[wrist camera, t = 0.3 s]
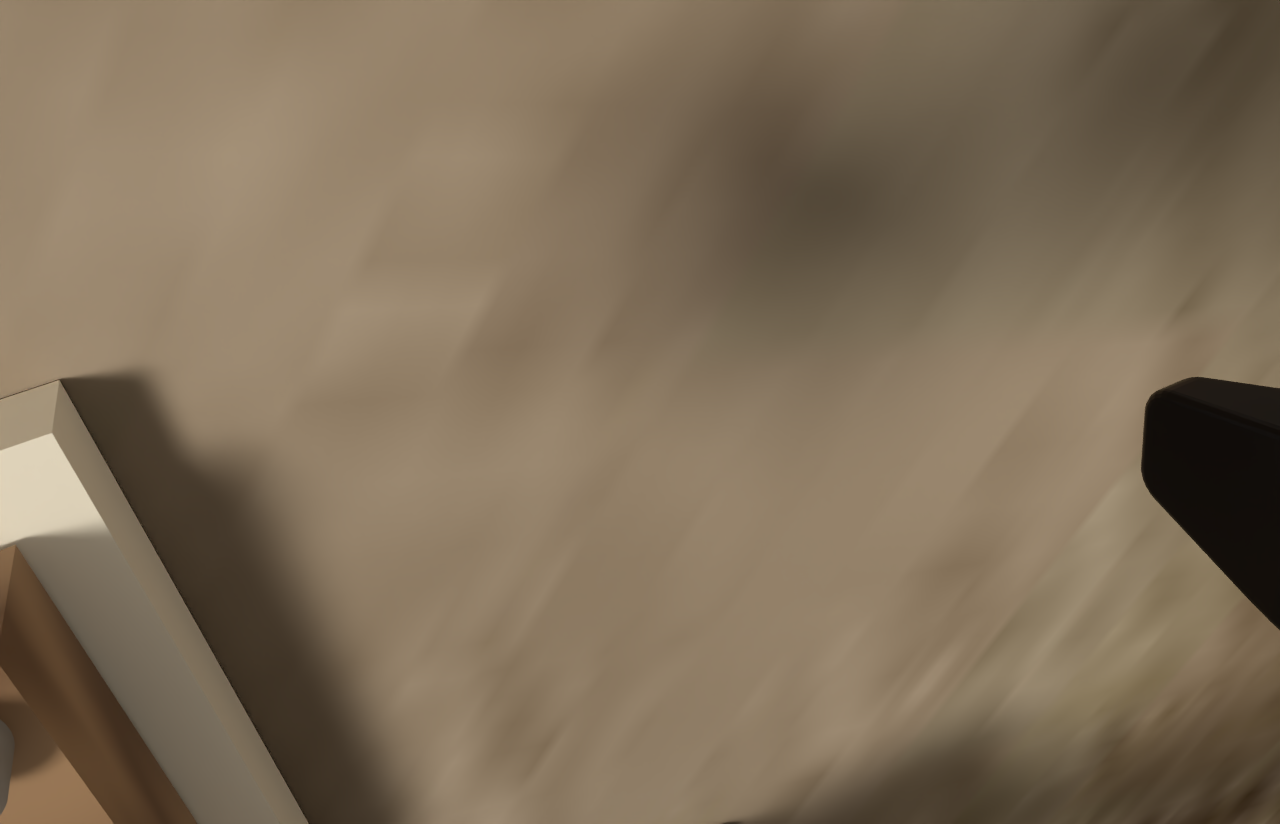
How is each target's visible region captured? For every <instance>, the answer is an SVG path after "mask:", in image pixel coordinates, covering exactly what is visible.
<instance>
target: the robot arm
mask: <svg viewBox="0 0 1280 824" xmlns="http://www.w3.org/2000/svg"><path fill="white" fill-rule="evenodd" d="M1141 472H1142V477H1143V480H1144V483H1145V485H1146V487H1147V489H1148V490H1149V492H1150V494H1151V495H1152V496H1153V497H1154V499H1155V500H1156V501H1157V502H1158V503H1159V504H1160V505H1161V506H1162V507H1163V508H1164V509H1165V510H1166V511H1167V513H1168V514H1169V515H1170V516H1171V517H1172V518H1173V519H1174V520H1175V521H1176V522H1177V523H1178V524H1179V525H1180V526H1181V527H1182V529H1183V530H1184V531H1185V532H1186V533H1187V534H1188V535H1189V536H1190V537H1191V538H1192V539H1193V540H1194V541H1195V542H1196V544H1197V545H1198V546H1199V547H1200V548H1201V549H1202V550H1203V551H1204V552H1205V553H1206V554H1207V555H1208V556H1209V557H1210V558H1211V560H1212V561H1213V562H1214V563H1215V564H1216V565H1217V566H1218V567H1219V568H1220V569H1221V570H1222V571H1223V572H1224V573H1225V575H1226V576H1227V577H1228V578H1229V579H1230V580H1231V581H1232V582H1233V583H1234V584H1235V585H1236V586H1237V587H1238V588H1239V589H1240V591H1241V592H1242V593H1243V594H1244V595H1245V596H1246V597H1247V598H1248V599H1249V600H1250V601H1251V602H1252V603H1253V604H1254V605H1255V606H1256V607H1257V608H1258V609H1259V610H1260V611H1261V612H1262V613H1263V614H1264V615H1265V616H1266V617H1267V618H1268V620H1269V621H1270V622H1272V623H1273V624H1274V625H1275V626H1276V627H1277V628H1278V629H1279V630H1280V388H1273V387H1266V386H1259V385H1252V384H1245V383H1238V382H1231V381H1224V380H1218V379H1211V378H1204V377H1191V378H1187V379H1184V380H1181V381H1179V382H1176V383H1174V384H1172V385H1169V386H1167V387H1165V388H1162V389H1160V390H1158V391H1156V392H1155V393H1153V394H1152V395H1151V396H1150V398H1149V400H1148V401H1147V403H1146V407H1145V417H1144V431H1143V445H1142V460H1141Z"/></svg>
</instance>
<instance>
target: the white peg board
mask: <svg viewBox="0 0 1280 824" xmlns="http://www.w3.org/2000/svg"><path fill="white" fill-rule="evenodd" d="M14 545H16V546H17V547H18V549H19V550H20V552H21V553H22V555H23V557H24V558H25V560H26V561H27V563H28V564H29V566H30V567H31V569H32V570H33V572H34V573H35V575H36V577H37V578H38V580H39V581H40V583H41V584H42V586H43V587H44V589H45V590H46V592H47V593H48V595H49V596H50V598H51V600H52V601H53V603H54V604H55V606H56V607H57V609H58V610H59V612H60V613H61V615H62V616H63V618H64V619H65V621H66V623H67V624H68V626H69V627H70V629H71V630H72V632H73V633H74V635H75V636H76V638H77V639H78V641H79V642H80V644H81V646H82V647H83V649H84V650H85V652H86V653H87V655H88V656H89V658H90V659H91V661H92V662H93V664H94V665H95V667H96V669H97V670H98V672H99V673H100V675H101V676H102V678H103V679H104V681H105V682H106V684H107V685H108V687H109V688H110V690H111V692H112V693H113V695H114V696H115V698H116V699H117V701H118V702H119V704H120V705H121V707H122V708H123V710H124V711H125V713H126V715H127V716H128V718H129V719H130V721H131V722H132V724H133V725H134V727H135V728H136V730H137V731H138V733H139V734H140V736H141V738H142V739H143V741H144V742H145V744H146V745H147V747H148V748H149V750H150V751H151V753H152V754H153V756H154V757H155V759H156V761H157V762H158V764H159V765H160V767H161V768H162V770H163V771H164V773H165V774H166V776H167V777H168V779H169V781H170V782H171V784H172V785H173V787H174V788H175V790H176V791H177V793H178V794H179V796H180V797H181V799H182V800H183V802H184V804H185V805H186V807H187V808H188V810H189V811H190V813H191V814H192V816H193V817H194V819H195V820H196V822H197V823H198V824H309V823H308V822H307V820H306V818H305V816H304V814H303V813H302V811H301V809H300V807H299V806H298V804H297V802H296V800H295V798H294V797H293V795H292V793H291V791H290V790H289V788H288V786H287V784H286V782H285V781H284V779H283V777H282V775H281V774H280V772H279V770H278V768H277V766H276V765H275V763H274V761H273V759H272V758H271V756H270V754H269V752H268V750H267V749H266V747H265V745H264V743H263V741H262V740H261V738H260V736H259V734H258V733H257V731H256V729H255V727H254V725H253V724H252V722H251V720H250V718H249V717H248V715H247V713H246V711H245V709H244V708H243V706H242V704H241V702H240V701H239V699H238V697H237V695H236V693H235V692H234V690H233V688H232V686H231V685H230V683H229V681H228V679H227V677H226V676H225V674H224V672H223V670H222V669H221V667H220V665H219V663H218V661H217V660H216V658H215V656H214V654H213V652H212V651H211V649H210V647H209V645H208V644H207V642H206V640H205V638H204V636H203V635H202V633H201V631H200V629H199V628H198V626H197V624H196V622H195V620H194V619H193V617H192V615H191V613H190V612H189V610H188V608H187V606H186V604H185V603H184V601H183V599H182V597H181V596H180V594H179V592H178V590H177V588H176V587H175V585H174V583H173V581H172V580H171V578H170V576H169V574H168V572H167V571H166V569H165V567H164V565H163V564H162V562H161V560H160V558H159V556H158V555H157V553H156V551H155V549H154V547H153V546H152V544H151V542H150V540H149V539H148V537H147V535H146V533H145V531H144V530H143V528H142V526H141V524H140V523H139V521H138V519H137V517H136V515H135V514H134V512H133V510H132V508H131V507H130V505H129V503H128V501H127V499H126V498H125V496H124V494H123V492H122V491H121V489H120V487H119V485H118V483H117V482H116V480H115V478H114V476H113V475H112V473H111V471H110V469H109V467H108V466H107V464H106V462H105V460H104V458H103V457H102V455H101V453H100V451H99V450H98V448H97V446H96V444H95V442H94V441H93V439H92V437H91V435H90V434H89V432H88V430H87V428H86V426H85V425H84V423H83V421H82V419H81V418H80V416H79V414H78V412H77V410H76V409H75V407H74V405H73V403H72V402H71V400H70V398H69V396H68V394H67V393H66V391H65V389H64V387H63V386H62V384H61V382H60V380H58V381H55V382H52V383H49V384H46V385H43V386H40V387H36V388H33V389H30V390H27V391H24V392H21V393H18V394H15V395H12V396H9V397H6V398H3V399H0V550H3V549H5V548H8V547H11V546H14Z"/></svg>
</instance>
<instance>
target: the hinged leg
mask: <svg viewBox="0 0 1280 824" xmlns="http://www.w3.org/2000/svg"><path fill="white" fill-rule="evenodd" d="M0 824H198V823H197V822H196V820H195V819H194V817H193V816H192V814H191V813H190V811H189V810H188V808H187V807H186V805H185V804H184V802H183V800H182V799H181V797H180V796H179V794H178V793H177V791H176V790H175V788H174V787H173V785H172V784H171V782H170V781H169V779H168V777H167V776H166V774H165V773H164V771H163V770H162V768H161V767H160V765H159V764H158V762H157V761H156V759H155V757H154V756H153V754H152V753H151V751H150V750H149V748H148V747H147V745H146V744H145V742H144V741H143V739H142V738H141V736H140V734H139V733H138V731H137V730H136V728H135V727H134V725H133V724H132V722H131V721H130V719H129V718H128V716H127V715H126V713H125V711H124V710H123V708H122V707H121V705H120V704H119V702H118V701H117V699H116V698H115V696H114V695H113V693H112V692H111V690H110V688H109V687H108V685H107V684H106V682H105V681H104V679H103V678H102V676H101V675H100V673H99V672H98V670H97V669H96V667H95V665H94V664H93V662H92V661H91V659H90V658H89V656H88V655H87V653H86V652H85V650H84V649H83V647H82V646H81V644H80V642H79V641H78V639H77V638H76V636H75V635H74V633H73V632H72V630H71V629H70V627H69V626H68V624H67V623H66V621H65V619H64V618H63V616H62V615H61V613H60V612H59V610H58V609H57V607H56V606H55V604H54V603H53V601H52V600H51V598H50V596H49V595H48V593H47V592H46V590H45V589H44V587H43V586H42V584H41V583H40V581H39V580H38V578H37V577H36V575H35V573H34V572H33V570H32V569H31V567H30V566H29V564H28V563H27V561H26V560H25V558H24V557H23V555H22V553H21V552H20V550H19V549H18V547H17V546H16V545H14V546H11V547H8V548H5V549H3V550H0Z"/></svg>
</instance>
